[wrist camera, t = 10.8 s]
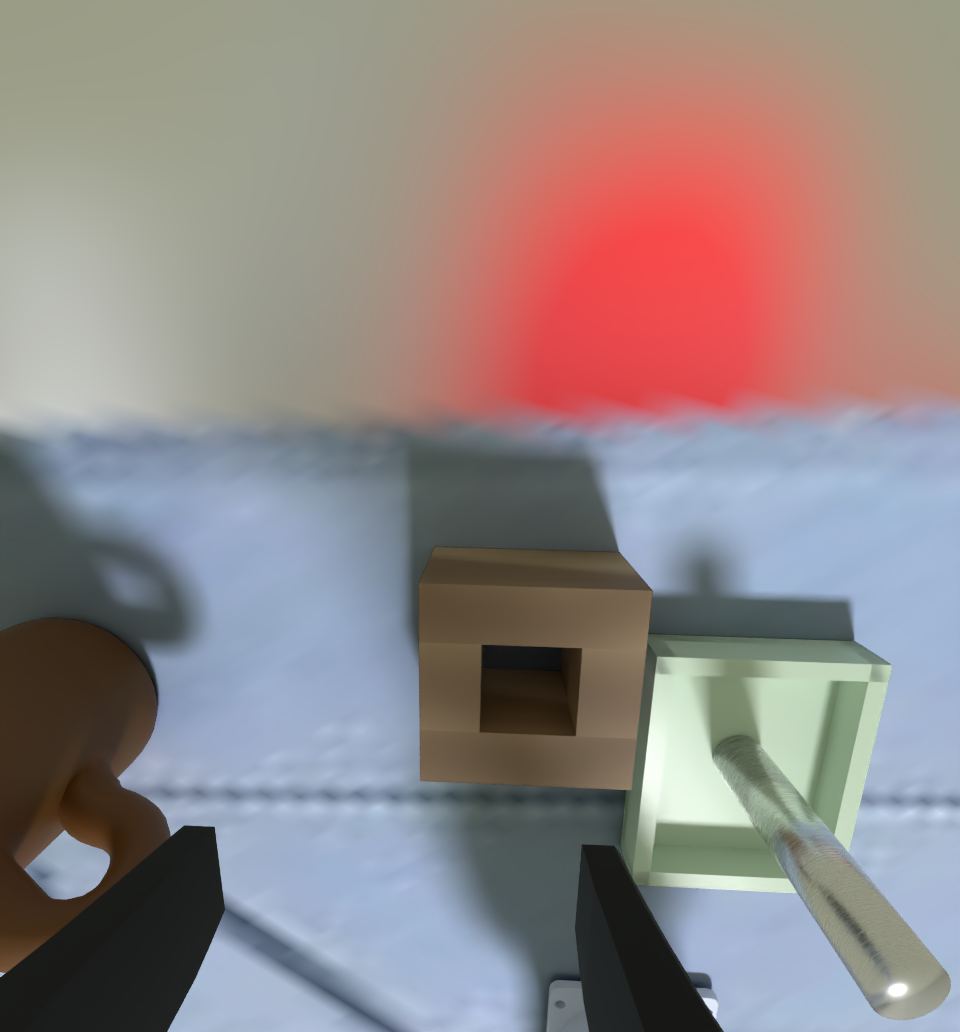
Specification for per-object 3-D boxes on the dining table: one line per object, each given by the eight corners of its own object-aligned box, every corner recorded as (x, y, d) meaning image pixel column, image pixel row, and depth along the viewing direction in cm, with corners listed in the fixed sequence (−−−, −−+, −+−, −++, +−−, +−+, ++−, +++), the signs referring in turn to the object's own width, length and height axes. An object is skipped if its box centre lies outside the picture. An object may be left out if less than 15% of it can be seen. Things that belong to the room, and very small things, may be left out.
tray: (809, 854, 21) (838, 895, 19) (620, 845, 21) (631, 884, 20) (855, 641, 19) (892, 665, 17) (642, 633, 19) (657, 656, 17)
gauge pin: (759, 775, 20) (942, 1018, 12) (711, 777, 20) (863, 1021, 12) (764, 734, 19) (957, 959, 11) (714, 736, 19) (875, 962, 11)
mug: (278, 664, 20) (92, 881, 11) (250, 808, 22) (68, 1101, 12) (-3, 590, 20) (-439, 747, 10) (-9, 742, 21) (-391, 993, 12)
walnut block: (605, 715, 20) (631, 790, 16) (434, 709, 20) (420, 780, 16) (619, 552, 18) (652, 590, 14) (434, 546, 19) (418, 583, 15)
